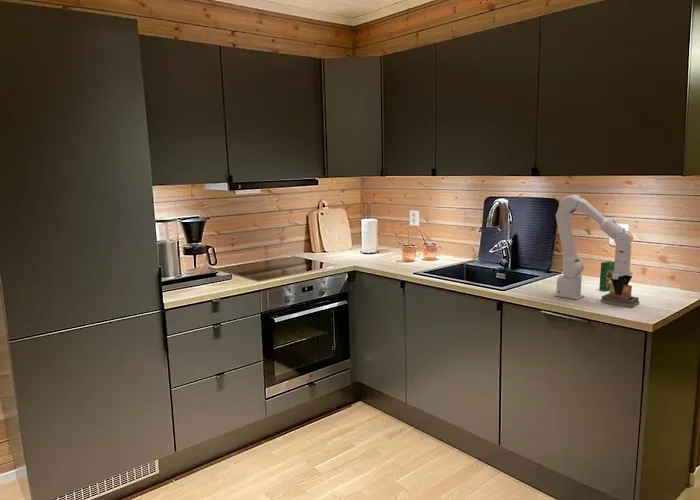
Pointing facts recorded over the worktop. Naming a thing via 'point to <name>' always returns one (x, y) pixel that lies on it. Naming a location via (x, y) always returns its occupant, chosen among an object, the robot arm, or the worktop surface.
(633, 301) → the nest plate
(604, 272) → the coffee box
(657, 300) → the worktop surface
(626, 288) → the terracotta bar
